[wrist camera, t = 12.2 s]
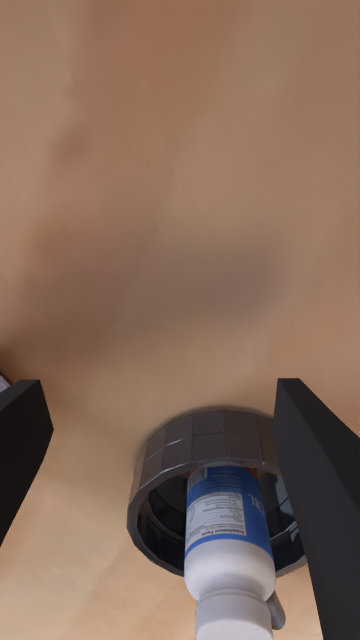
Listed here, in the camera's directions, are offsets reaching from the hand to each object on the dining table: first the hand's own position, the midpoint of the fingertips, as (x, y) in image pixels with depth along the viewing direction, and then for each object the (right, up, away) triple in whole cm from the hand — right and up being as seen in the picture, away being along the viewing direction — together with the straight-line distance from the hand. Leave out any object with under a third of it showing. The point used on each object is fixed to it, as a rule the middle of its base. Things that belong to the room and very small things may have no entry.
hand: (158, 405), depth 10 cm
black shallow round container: (+4, -9, +16) cm, 19 cm away
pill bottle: (+4, -9, +16) cm, 19 cm away
